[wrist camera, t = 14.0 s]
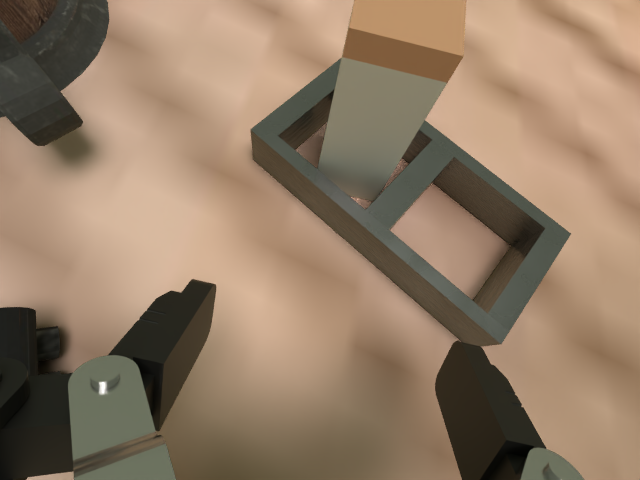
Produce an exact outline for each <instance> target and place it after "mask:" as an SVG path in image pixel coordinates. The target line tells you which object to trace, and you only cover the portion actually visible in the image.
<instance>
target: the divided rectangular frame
mask: <svg viewBox="0 0 640 480" xmlns="http://www.w3.org/2000/svg"><path fill="white" fill-rule="evenodd" d="M341 59H342V58H341ZM341 59H339V60H338V61H337V62H336V63H334V64H333V65H332V66H331V67H329V68H328V69H327V70H325V71H324V72H323V73H322V74H320V75H319V76H318V77H317V78H315V79H314V80H313V81H311V82H310V83H309V84H308V85H306V86H305V87H304V88H303V89H301V90H300V91H299V92H298V93H296V94H295V95H294V96H292V97H291V98H290V99H289V100H287V101H286V102H285V103H284V104H282V105H281V106H280V107H279V108H277V109H276V110H275V111H273V112H272V113H271V114H270V115H268V116H267V117H266V118H265V119H263V120H262V121H261V122H260V123H258V124H257V125H256V126H254V127H253V128H252V129H251V140H252V151H253V160H254V161H256V162H257V163H258V164H259V165H260V166H261V167H262V168H264V169H265V170H266V171H267V172H268V173H269V174H270V175H272V176H273V177H274V178H275V179H276V180H277V181H278V182H280V183H281V184H282V185H283V186H284V187H285V188H287V189H288V190H289V191H290V192H291V193H292V194H293V195H295V196H296V197H297V198H298V199H299V200H300V201H301V202H303V203H304V204H305V205H306V206H307V207H308V208H309V209H311V210H312V211H313V212H314V213H315V214H316V215H318V216H319V217H320V218H321V219H322V220H323V221H324V222H326V223H327V224H328V225H329V226H330V227H331V228H332V229H334V230H335V231H336V232H337V233H338V234H339V235H340V236H342V237H343V238H344V239H345V240H346V241H347V242H348V243H350V244H351V245H352V246H353V247H354V248H355V249H357V250H358V251H359V252H360V253H361V254H362V255H363V256H365V257H366V258H367V259H368V260H369V261H370V262H371V263H373V264H374V265H375V266H376V267H377V268H378V269H379V270H381V271H382V272H383V273H384V274H385V275H386V276H387V277H389V278H390V279H391V280H392V281H393V282H394V283H396V284H397V285H398V286H399V287H400V288H401V289H402V290H404V291H405V292H406V293H407V294H408V295H409V296H410V297H412V298H413V299H414V300H415V301H416V302H417V303H418V304H420V305H421V306H422V307H423V308H424V309H425V310H426V311H428V312H429V313H430V314H431V315H432V316H433V317H435V318H436V319H437V320H438V321H439V322H440V323H441V324H443V325H444V326H445V327H446V328H447V329H448V330H449V331H451V332H452V333H453V334H454V335H455V336H456V337H457V338H459V339H460V340H461V341H462V342H464V343H468V344H473V345H477V346H480V347H481V346H490V345H499V344H502V342H503V341H504V339H505V337H506V336H507V334H508V333H509V331H510V330H511V328H512V326H513V325H514V323H515V322H516V320H517V318H518V317H519V315H520V314H521V312H522V311H523V309H524V307H525V306H526V304H527V303H528V301H529V300H530V298H531V296H532V295H533V293H534V292H535V290H536V288H537V287H538V285H539V284H540V282H541V281H542V279H543V277H544V276H545V274H546V273H547V271H548V270H549V268H550V266H551V265H552V263H553V262H554V260H555V258H556V257H557V255H558V254H559V252H560V251H561V249H562V247H563V246H564V244H565V243H566V241H567V240H568V238H569V236H570V235H571V233H569V232H568V231H567V230H565V229H564V228H563V227H562V226H560V225H559V224H558V223H556V222H555V221H554V220H553V219H551V218H550V217H549V216H547V215H546V214H545V213H544V212H542V211H541V210H540V209H538V208H537V207H536V206H535V205H533V204H532V203H531V202H529V201H528V200H527V199H525V198H524V197H523V196H522V195H520V194H519V193H518V192H516V191H515V190H514V189H513V188H511V187H510V186H509V185H507V184H506V183H505V182H504V181H502V180H501V179H500V178H498V177H497V176H496V175H495V174H493V173H492V172H491V171H489V170H488V169H487V168H486V167H484V166H483V165H482V164H480V163H479V162H478V161H477V160H475V159H474V158H473V157H471V156H470V155H469V154H468V153H466V152H465V151H464V150H462V149H461V148H460V147H459V146H457V145H456V144H455V143H453V142H452V141H451V140H450V139H448V138H447V137H446V136H444V135H443V134H442V133H441V132H439V131H438V130H437V129H435V128H434V127H433V126H432V125H430V124H429V123H428V122H426V121H425V120H424V122H423V124H422V125H421V127H420V128H419V130H418V132H417V133H416V135H415V137H414V138H413V140H412V142H411V143H410V145H409V147H408V148H407V150H406V151H405V153H404V155H403V156H402V158H403V159H405V160H406V161H407V162H408V163H409V165H408V166H407V167H406V168H405V169H404V170H403V171H402V172H401V173H400V174H399V176H398V177H397V178H396V179H395V180H394V181H393V182H392V183H391V184H390V185H389V186H388V187H387V188H386V189H385V190H384V191H383V192H382V193H381V194H380V195H379V196H378V198H377V199H376V200H375V201H374V202H373V203H372V204H371V205H370V206H369V207H368V208H367V209H366V210H365V209H364V208H362V207H361V206H360V205H359V204H358V203H357V202H355V201H354V200H353V199H352V198H351V197H349V196H348V195H347V194H346V193H345V192H344V191H342V190H341V189H340V188H339V187H338V186H337V185H335V184H334V183H333V182H332V181H331V180H329V179H328V178H327V177H326V176H325V175H324V174H322V173H321V172H320V171H319V170H318V169H316V168H315V167H314V166H313V165H312V164H311V163H309V162H308V161H307V160H306V159H305V158H303V157H302V156H301V155H300V154H299V153H298V152H296V151H295V149H296V148H297V147H298V146H299V145H301V144H302V143H303V142H304V141H305V140H306V139H308V138H309V137H310V136H311V135H312V134H313V133H314V132H316V131H317V130H318V129H319V128H320V127H321V126H323V125H324V124H325V123H326V122H327V121H328V117H329V113H330V108H331V104H332V99H333V95H334V90H335V86H336V81H337V77H338V72H339V68H340V63H341ZM432 182H433V183H434V184H436V185H437V186H438V187H439V188H441V189H442V190H443V191H444V192H446V193H447V194H448V195H449V196H450V197H452V198H453V199H454V200H455V201H457V202H458V203H459V204H460V205H462V206H463V207H464V208H465V209H467V210H468V211H469V212H470V213H472V214H473V215H474V216H475V217H477V218H478V219H479V220H480V221H482V222H483V223H484V224H485V225H487V226H488V227H489V228H490V229H491V230H493V231H494V232H495V233H496V234H498V235H499V236H500V237H501V238H503V239H504V240H505V241H506V242H508V243H509V244H510V245H511V247H510V249H509V250H508V252H507V253H506V254H505V256H504V257H503V259H502V260H501V262H500V263H499V264H498V266H497V267H496V269H495V270H494V271H493V273H492V274H491V276H490V277H489V279H488V280H487V281H486V283H485V284H484V286H483V287H482V288H481V290H480V291H479V293H478V294H477V296H476V297H475V298H474V300H473V301H472V300H471V299H470V298H469V297H468V296H466V295H465V294H464V293H463V292H462V291H460V290H459V289H458V288H457V287H456V286H455V285H453V284H452V283H451V282H450V281H449V280H447V279H446V278H445V277H444V276H443V275H442V274H440V273H439V272H438V271H437V270H436V269H434V268H433V267H432V266H431V265H430V264H429V263H427V262H426V261H425V260H424V259H423V258H421V257H420V256H419V255H418V254H417V253H416V252H414V251H413V250H412V249H411V248H410V247H409V246H407V245H406V244H405V243H404V242H403V241H401V240H400V239H399V238H398V237H397V236H396V235H394V234H393V233H392V232H391V231H390V229H391V228H392V227H393V226H394V225H395V224H396V222H397V221H398V220H399V219H400V218H401V217H402V216H403V215H404V213H405V212H406V211H407V210H408V209H409V208H410V207H411V206H412V204H413V203H414V202H415V201H416V200H417V199H418V198H419V197H420V196H421V194H422V193H423V192H424V191H425V190H426V189H427V188H428V187H429V185H430V184H431V183H432Z"/></svg>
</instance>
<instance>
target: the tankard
mask: <svg viewBox="0 0 640 480" xmlns="http://www.w3.org/2000/svg"><path fill="white" fill-rule="evenodd" d="M108 24H109V11H108V2H107V0H0V117H4V116H6V117H7V118H8V119H9V120H10V121H11V122H12V123H13V124H14V125H15V126H16V127H17V128H18V129H19V130H20V131H21V132H22V133H23V134H24V135H25V136H26V137H27V138H28V139H29V140H30V141H32V142H33V143H34V144H36V145H37V146H45V145H47V144H48V143H50V142H52V141H54V140H56V139H58V138H60V137H62V136H64V135H65V134H67V133H69V132H71V131H73V130H75V129H77V128H79V127H80V126H81V125H82V123H83V121H82V119H81V118H80V117H79V115H78V114H77V113H76V111H75V110H74V109H73V107H72V106H71V105H70V104H69V102H68V101H67V100H66V98H65V97H64V96H63V95H62V93H61V92H60V91H61V90H63V89H64V88H65V87H67V86H68V85H69V84H70V83H71V82H72V81H74V80H75V79H76V78H77V77H78V76H80V75H81V74H82V73H83V72H84V71H85V70H86V68H87V67H88V66H89V65H90V63H91V62H92V61H93V60H94V58H95V57H96V56H97V54H98V52H99V50H100V48H101V46H102V44H103V42H104V40H105V38H106V34H107V29H108Z"/></svg>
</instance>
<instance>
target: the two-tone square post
mask: <svg viewBox="0 0 640 480" xmlns="http://www.w3.org/2000/svg"><path fill="white" fill-rule="evenodd" d="M465 14H466V0H354V4H353V9H352V13H351V18H350V22H349V27H348V31H347V36H346V40H345V45H344V49H343V54H342V59H341V63H340V68H339V72H338V77H337V81H336V86H335V90H334V95H333V99H332V104H331V108H330V113H329V117H328V122H327V126H326V131H325V135H324V140H323V145H322V149H321V154H320V159H319V163H318V168H317V169H318V170H319V171H320V172H321V173H322V174H324V175H325V176H326V177H327V178H328V179H329V180H331V181H332V182H333V183H334V184H335V185H337V186H338V187H339V188H340V189H341V190H342V191H344V192H345V193H346V194H347V195H348V196H352V197H356V198H361V199H365V200H370V201H375V200H376V199H377V197H378V196H379V194H380V193H381V191H382V189H383V188H384V186H385V184H386V183H387V181H388V179H389V178H390V176H391V174H392V173H393V171H394V170H395V168H396V166H397V165H398V163H399V161H400V160H401V158H402V156H403V155H404V153H405V151H406V150H407V148H408V147H409V145H410V143H411V142H412V140H413V138H414V137H415V135H416V133H417V132H418V130H419V128H420V127H421V125H422V124H423V122H424V120H425V119H426V117H427V115H428V114H429V112H430V110H431V109H432V107H433V105H434V104H435V102H436V101H437V99H438V97H439V96H440V94H441V92H442V91H443V89H444V87H445V86H446V84H447V83H448V81H449V79H450V78H451V76H452V74H453V73H454V71H455V69H456V68H457V66H458V64H459V63H460V61H461V60H462V58H463V56H464V35H465Z"/></svg>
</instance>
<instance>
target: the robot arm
mask: <svg viewBox="0 0 640 480" xmlns="http://www.w3.org/2000/svg"><path fill="white" fill-rule="evenodd" d="M215 294H216V285H215V284H212V283H207V282H203V281H199V280H194V279H192V280H191V281H190V282H189V284H188V285H187V286H186V287H185V289H184V290H183V291H182V293H179V292H175V291H169V292H168V293H166V294H164V295H162V296H160V297H158V298H156V300H155V301H154V302H153V303H152V304H151V305H150V307H149V308H148V309H147V311H145V313H144V314H143V315H142V316H141V317H140V319H139V321H137V322H136V323H135V324H134V325H133V327H132V328H131V329H130V330H129V331H128V332H127V334H126V335H125V336H124V337H123V338H122V339H121V341H120V342H119V343H118V344H117V345H116V346H115V348H114V349H113V350H112V351H111V352H110V353H109V355H108V356H102V357H98V358H95V359H92V360H90V361H88V362H86V363H84V364H83V365H81V366H80V367H79V368H78V369H76V370H75V372H74V373H70V374H59V375H36V376H28V372H27V368H26V366H25V365H24V364H23V363H22V362H21V361H18V360H16V359H12V358H5V357H2V358H0V480H26V479H27V478H28V477H32V476H40V475H48V474H56V473H64V472H72V471H74V480H176V478H175V474H174V470H173V467H172V463H171V460H170V456H169V453H168V449H167V446H166V443H165V440H164V438H163V436H162V435H159V436H157V434H156V431H159V430H160V428H161V426H162V424H163V423H164V421H165V419H166V417H167V415H168V413H169V411H170V409H171V407H172V405H173V403H174V401H175V400H176V398H177V396H178V394H179V392H180V390H181V388H182V386H183V384H184V382H185V380H186V378H187V377H188V375H189V373H190V371H191V369H192V367H193V365H194V363H195V361H196V359H197V357H198V356H199V354H200V352H201V350H202V348H203V346H204V344H205V342H206V340H207V337H208V335H209V331H210V328H211V323H212V316H213V309H214V302H215ZM435 391H436V396H437V399H438V402H439V406H440V409H441V412H442V415H443V419H444V422H445V425H446V429H447V432H448V435H449V438H450V442H451V445H452V448H453V451H454V455H455V458H456V461H457V464H458V468H459V471H460V474H461V477H462V480H584V479H583V477H582V476H581V475H580V473H579V472H578V471H577V470H576V469H575V468H574V467H573V466H572V465H571V464H570V463H569V462H568V461H566V460H565V459H564V458H562V457H561V456H559V455H558V454H556V453H554V452H552V451H550V450H547V449H546V447H545V445H544V443H543V442H542V440H541V438H540V436H539V435H538V433H537V431H536V429H535V427H534V426H533V424H532V422H531V420H530V419H529V417H528V415H527V413H526V411H525V410H524V408H523V407H521V405H522V404H521V403H520V401H519V399H518V397H517V396H516V395H515V392H514V390H513V388H512V387H511V385H510V383H509V381H508V380H507V378H506V377H505V376H504V375H503V374H502V373H501V372H500V371H499V370H498V369H497V368H496V367H495V366H494V365H491V364H490V362H489V360H488V358H487V356H486V354H485V352H484V350H483V349H482V348H481V347H480V346H477V345H473V344H468V343H464V342H460V341H456V342H454V343H453V345H452V346H451V348H450V350H449V352H448V354H447V356H446V358H445V360H444V362H443V364H442V366H441V368H440V370H439V372H438V375H437V378H436V383H435ZM155 430H156V431H155Z"/></svg>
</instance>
